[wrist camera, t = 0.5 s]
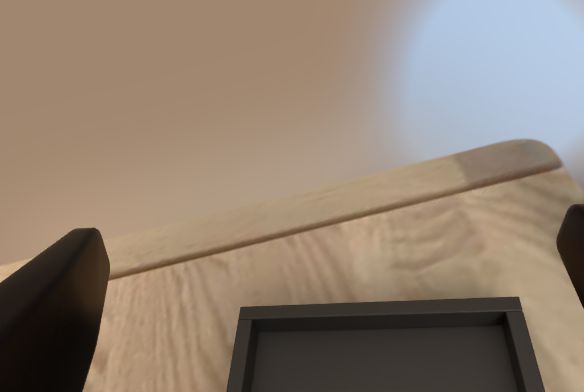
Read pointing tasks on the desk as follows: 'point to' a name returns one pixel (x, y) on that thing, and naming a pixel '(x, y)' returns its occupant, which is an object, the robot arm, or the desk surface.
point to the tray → (385, 347)
